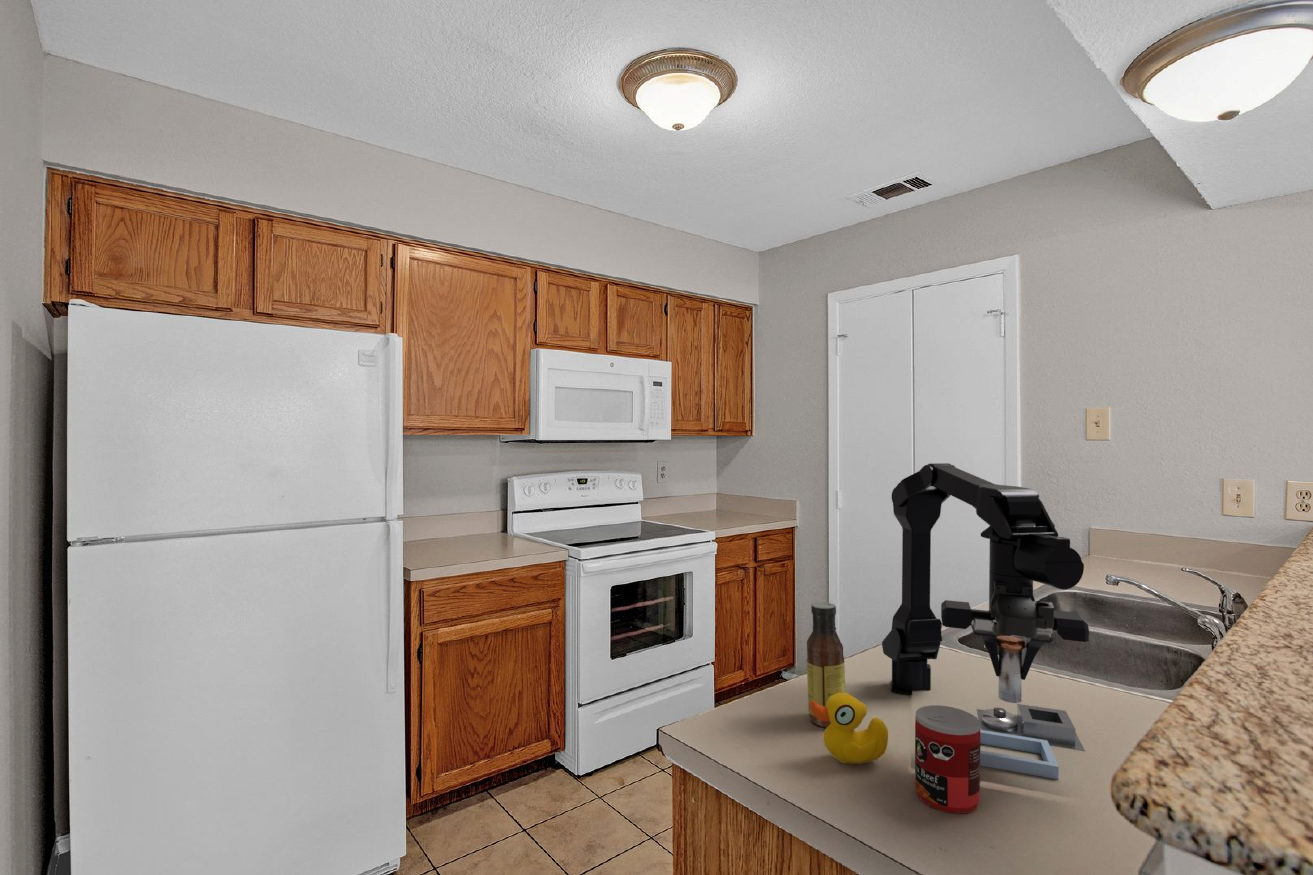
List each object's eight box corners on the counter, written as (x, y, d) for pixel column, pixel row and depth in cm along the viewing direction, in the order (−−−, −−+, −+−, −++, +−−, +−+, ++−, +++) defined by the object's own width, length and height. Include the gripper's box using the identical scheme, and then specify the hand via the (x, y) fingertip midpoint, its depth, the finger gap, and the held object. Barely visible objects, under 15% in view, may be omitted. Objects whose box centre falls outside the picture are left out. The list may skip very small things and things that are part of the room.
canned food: (904, 783, 89) (905, 705, 89) (959, 780, 90) (959, 703, 90) (932, 816, 82) (933, 731, 82) (992, 813, 82) (993, 728, 82)
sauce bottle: (848, 717, 110) (849, 602, 110) (843, 732, 104) (843, 611, 104) (810, 710, 113) (810, 598, 112) (802, 725, 107) (803, 607, 107)
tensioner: (982, 739, 102) (982, 718, 102) (976, 713, 112) (976, 694, 111) (1085, 756, 97) (1085, 734, 97) (1070, 727, 106) (1070, 707, 106)
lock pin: (996, 701, 94) (997, 642, 94) (994, 691, 98) (994, 634, 97) (1026, 705, 93) (1027, 645, 92) (1022, 695, 96) (1023, 637, 96)
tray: (969, 768, 93) (969, 751, 93) (965, 742, 101) (965, 727, 101) (1058, 784, 89) (1058, 766, 89) (1047, 756, 97) (1047, 740, 97)
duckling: (812, 768, 93) (813, 700, 93) (807, 750, 99) (807, 686, 99) (892, 772, 92) (892, 703, 92) (882, 753, 98) (883, 688, 98)
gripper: (944, 578, 91) (943, 687, 91) (1100, 591, 84) (1098, 709, 84) (941, 563, 101) (940, 661, 101) (1079, 573, 94) (1078, 679, 94)
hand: (1009, 677), depth 95 cm, fingers closed on lock pin, 3 cm apart
